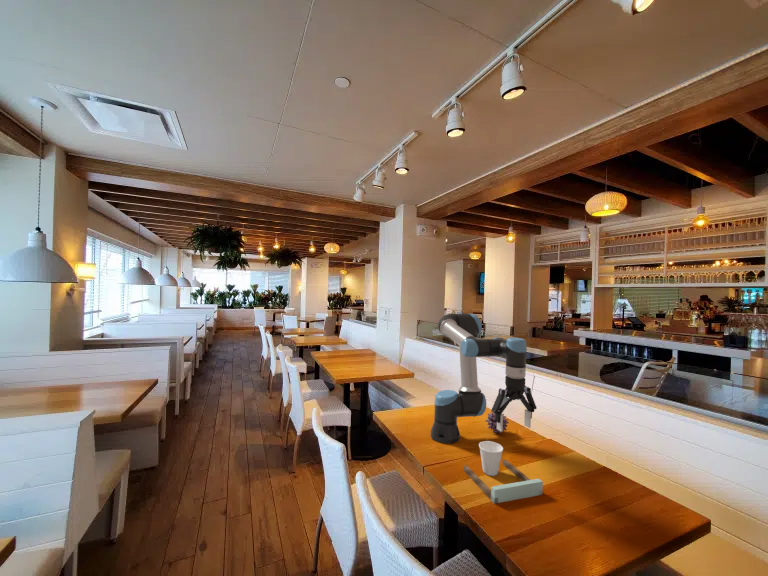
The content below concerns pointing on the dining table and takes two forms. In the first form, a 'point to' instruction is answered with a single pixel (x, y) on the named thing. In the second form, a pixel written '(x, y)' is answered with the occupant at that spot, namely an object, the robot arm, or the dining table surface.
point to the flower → (493, 423)
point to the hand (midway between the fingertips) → (513, 428)
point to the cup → (490, 457)
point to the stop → (516, 490)
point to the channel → (484, 486)
